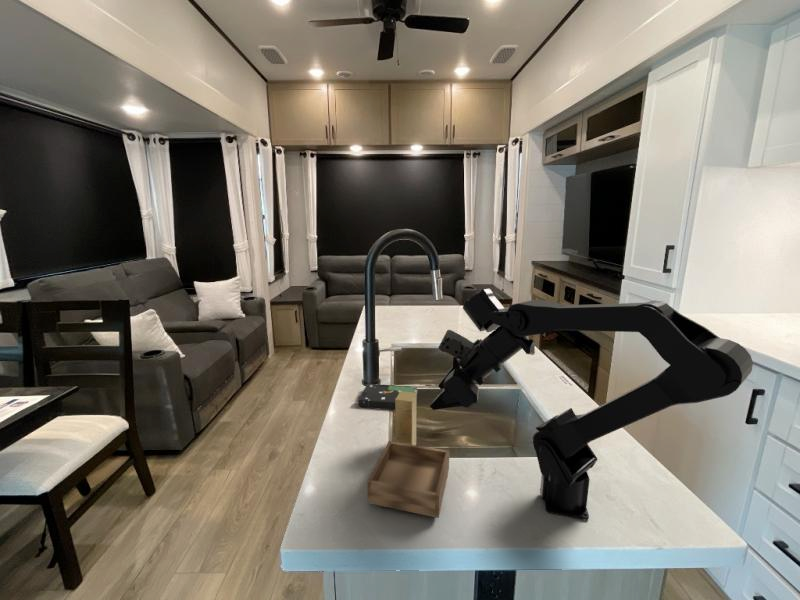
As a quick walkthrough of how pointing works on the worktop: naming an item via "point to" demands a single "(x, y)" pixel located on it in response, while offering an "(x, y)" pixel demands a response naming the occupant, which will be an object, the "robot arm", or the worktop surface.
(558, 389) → the worktop surface
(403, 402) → the brass bar
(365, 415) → the worktop surface
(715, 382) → the robot arm
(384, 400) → the disk drive
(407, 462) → the wooden storage tray
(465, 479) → the worktop surface
